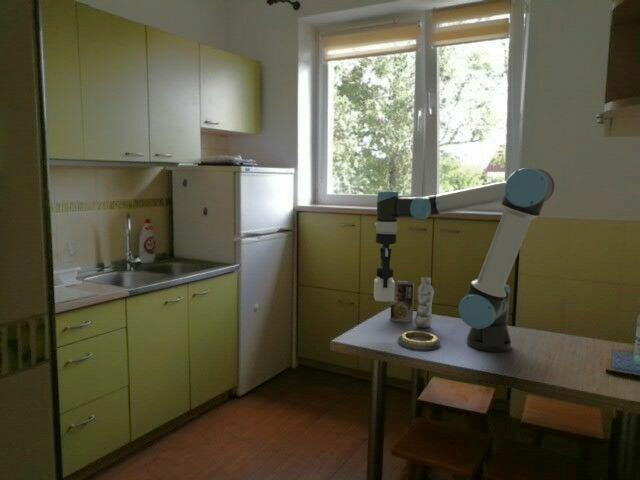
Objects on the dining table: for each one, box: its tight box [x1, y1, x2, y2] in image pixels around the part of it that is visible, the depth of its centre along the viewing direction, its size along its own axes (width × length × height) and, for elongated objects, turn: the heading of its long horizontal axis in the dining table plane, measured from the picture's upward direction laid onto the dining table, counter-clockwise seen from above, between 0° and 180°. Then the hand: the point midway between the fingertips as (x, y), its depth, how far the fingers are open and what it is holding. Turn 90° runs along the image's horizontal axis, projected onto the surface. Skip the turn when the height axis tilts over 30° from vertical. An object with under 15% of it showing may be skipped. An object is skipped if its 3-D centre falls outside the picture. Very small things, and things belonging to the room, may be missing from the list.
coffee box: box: [389, 279, 415, 323], centre depth 205 cm, size 9×6×16 cm
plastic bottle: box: [414, 276, 435, 329], centre depth 195 cm, size 6×7×20 cm
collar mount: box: [397, 330, 441, 352], centre depth 177 cm, size 15×15×2 cm
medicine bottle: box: [373, 266, 395, 302], centre depth 183 cm, size 7×7×12 cm
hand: (384, 293), depth 184 cm, fingers closed on medicine bottle, 7 cm apart
